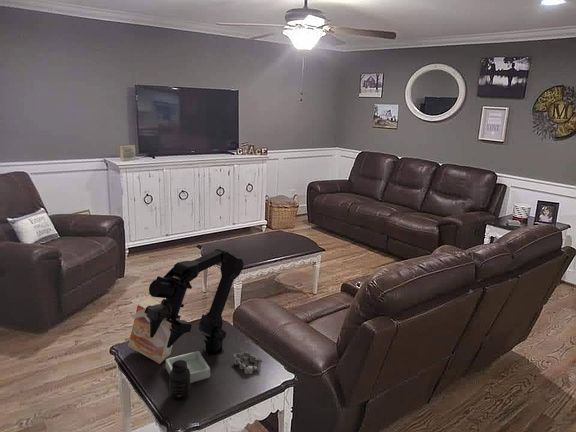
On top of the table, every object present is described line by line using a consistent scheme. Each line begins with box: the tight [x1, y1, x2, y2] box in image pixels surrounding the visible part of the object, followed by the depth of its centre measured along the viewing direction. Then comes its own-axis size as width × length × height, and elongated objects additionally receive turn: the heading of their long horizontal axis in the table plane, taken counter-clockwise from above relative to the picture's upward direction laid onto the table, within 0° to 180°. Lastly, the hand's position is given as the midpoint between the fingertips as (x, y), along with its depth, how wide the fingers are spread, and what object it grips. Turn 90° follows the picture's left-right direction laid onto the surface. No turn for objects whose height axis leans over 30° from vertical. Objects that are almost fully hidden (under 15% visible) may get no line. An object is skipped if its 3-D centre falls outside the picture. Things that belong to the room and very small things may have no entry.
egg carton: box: [233, 350, 263, 375], centre depth 164 cm, size 11×8×4 cm
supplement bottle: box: [168, 360, 192, 402], centre depth 145 cm, size 7×7×12 cm
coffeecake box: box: [127, 297, 182, 365], centre depth 164 cm, size 15×7×20 cm, turn 71°
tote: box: [165, 350, 211, 383], centre depth 158 cm, size 13×13×4 cm
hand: (159, 342), depth 150 cm, fingers open, 9 cm apart
